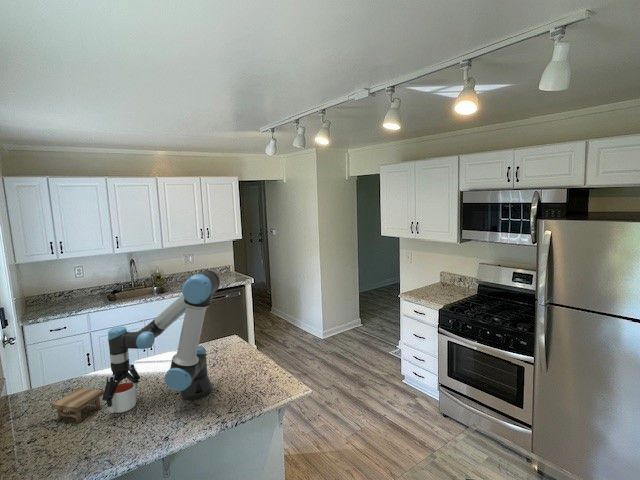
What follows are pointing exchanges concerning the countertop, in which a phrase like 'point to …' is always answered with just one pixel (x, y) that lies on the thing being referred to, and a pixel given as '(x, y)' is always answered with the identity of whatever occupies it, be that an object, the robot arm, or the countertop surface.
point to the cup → (124, 397)
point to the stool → (77, 402)
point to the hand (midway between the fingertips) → (123, 403)
